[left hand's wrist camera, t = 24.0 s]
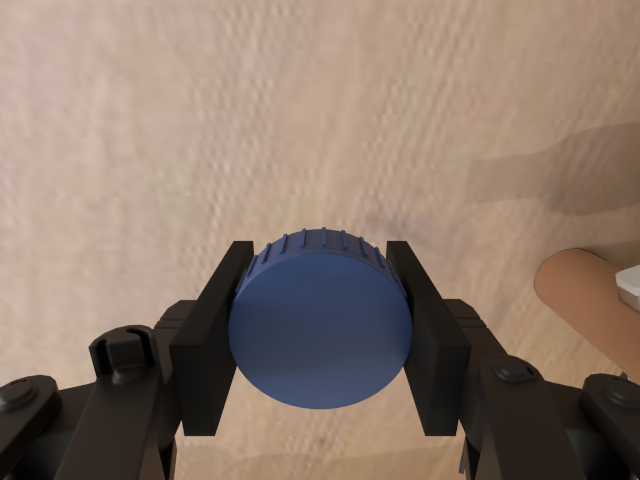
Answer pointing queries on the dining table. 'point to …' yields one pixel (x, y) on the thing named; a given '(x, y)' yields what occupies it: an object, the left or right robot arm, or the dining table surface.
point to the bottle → (592, 305)
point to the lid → (320, 320)
